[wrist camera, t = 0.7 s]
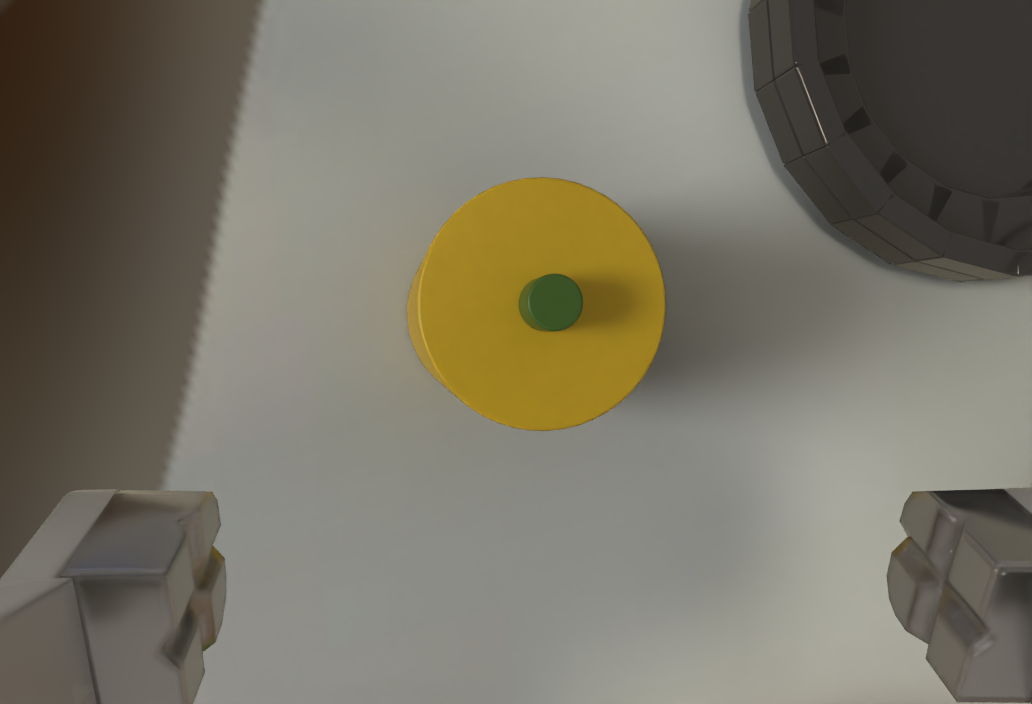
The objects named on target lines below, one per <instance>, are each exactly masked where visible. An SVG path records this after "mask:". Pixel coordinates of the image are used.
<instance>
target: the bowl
mask: <svg viewBox="0 0 1032 704" xmlns="http://www.w3.org/2000/svg"><path fill="white" fill-rule="evenodd" d="M749 12H750V13H749V28H750V40H751V52H752V65H753V77H754V89H755V91H756V95H757V98H758V101H759V103H760V106H761V108H762V111H763V113H764V116H765V118H766V121H767V124H768V126H769V129H770V131H771V134H772V136H773V139H774V141H775V144H776V147H777V149H778V152H779V154H780V157H781V159H782V162H783V163H784V164H785V165H784V166H785V168H786V169H787V170H788V171H789V173H790V174H791V175H792V176H793V178H794V179H795V180H796V181H797V183H798V184H799V185H800V186H801V188H802V189H803V190H804V191H805V193H806V194H807V195H808V196H809V198H810V199H811V200H812V202H813V203H814V204H815V205H816V207H817V208H818V209H819V210H820V212H821V213H822V214H823V215H824V217H825V218H826V219H827V220H828V222H829V223H831V225H832V226H834V227H835V228H837V229H838V230H840V231H841V232H843V233H844V234H846V235H847V236H849V237H850V238H852V239H853V240H855V241H856V242H858V243H859V244H861V245H862V246H864V247H865V248H867V249H868V250H870V251H871V252H873V253H874V254H876V255H877V256H879V257H880V258H882V259H883V260H885V261H886V262H888V263H889V264H893V265H896V266H899V267H903V268H907V269H911V270H915V271H919V272H922V273H926V274H930V275H934V276H938V277H942V278H946V279H949V280H953V281H959V282H965V281H976V280H987V279H998V278H1009V277H1020V276H1031V275H1032V0H751V5H750V9H749Z"/></svg>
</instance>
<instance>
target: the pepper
mask: <svg viewBox="0 0 1032 704" xmlns="http://www.w3.org/2000/svg"><path fill="white" fill-rule="evenodd" d="M665 311H666V298H665V286H664V281H663V276H662V271H661V268H660V265H659V262H658V259H657V256H656V254H655V252H654V250H653V248H652V246H651V244H650V242H649V240H648V239H647V237H646V236H645V234H644V232H643V231H642V229H641V228H640V227H639V226H638V224H637V223H636V222H635V221H634V220H633V218H632V217H631V216H630V215H629V214H628V213H627V212H626V211H625V210H623V209H622V208H621V207H620V206H619V205H618V204H617V203H615V202H614V201H612V200H611V199H609V198H608V197H606V196H605V195H603V194H601V193H599V192H597V191H596V190H594V189H592V188H590V187H587V186H584V185H581V184H579V183H576V182H572V181H567V180H563V179H557V178H545V177H539V178H524V179H519V180H514V181H509V182H506V183H503V184H500V185H497V186H494V187H492V188H490V189H488V190H486V191H484V192H482V193H480V194H478V195H477V196H475V197H474V198H472V199H471V200H469V201H468V202H466V203H465V204H464V205H463V206H462V207H461V208H459V209H458V210H457V211H456V212H455V213H454V214H453V215H452V216H451V217H450V218H449V219H448V221H447V222H446V223H445V224H444V225H443V226H442V228H441V229H440V231H439V232H438V234H437V235H436V237H435V238H434V240H433V242H432V244H431V246H430V248H429V249H428V251H427V253H426V255H425V257H424V259H423V261H422V263H421V265H420V267H419V269H418V271H417V273H416V275H415V277H414V279H413V282H412V285H411V288H410V292H409V298H408V305H407V320H408V328H409V333H410V338H411V340H412V343H413V346H414V349H415V351H416V353H417V355H418V357H419V359H420V360H421V362H422V363H423V365H424V366H425V367H426V369H427V370H428V371H429V372H430V373H431V374H432V376H433V377H434V378H435V379H436V380H438V381H439V382H440V383H441V384H442V385H443V386H445V387H446V388H447V389H448V390H449V391H451V392H452V393H453V394H454V395H455V396H456V397H458V398H459V399H460V400H461V401H462V402H464V403H465V404H466V405H467V406H468V407H470V408H471V409H473V410H474V411H476V412H478V413H479V414H481V415H482V416H484V417H486V418H489V419H491V420H493V421H495V422H497V423H500V424H503V425H507V426H510V427H513V428H519V429H525V430H535V431H550V430H560V429H565V428H570V427H574V426H578V425H581V424H583V423H586V422H588V421H591V420H593V419H595V418H597V417H599V416H601V415H603V414H605V413H606V412H608V411H609V410H611V409H612V408H613V407H615V406H616V405H618V404H619V403H620V402H621V401H622V400H624V399H625V398H626V397H627V396H628V395H629V394H630V393H631V392H632V391H633V390H634V388H635V387H636V386H637V385H638V384H639V382H640V381H641V380H642V378H643V377H644V375H645V374H646V372H647V370H648V369H649V367H650V366H651V364H652V361H653V359H654V357H655V355H656V353H657V350H658V347H659V344H660V341H661V338H662V334H663V328H664V323H665Z"/></svg>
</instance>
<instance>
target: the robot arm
mask: <svg viewBox="0 0 1032 704" xmlns="http://www.w3.org/2000/svg"><path fill="white" fill-rule="evenodd" d="M900 523H901V525H902V527H903V528H904V530H905V532H906V534H907V536H908V537H907V538H906V539H905V540H904V541H903V542H902V543H901V544H900V545H899V546H898V547H897V548H896V549H895V550H894V551H893V552H892V553H891V558H890V563H889V567H888V572H887V584H888V594H889V600H890V603H891V605H892V608H893V610H894V613H895V616H896V617H897V618H898V620H899V621H900V623H901V624H902V626H903V627H904V629H905V630H906V631H907V632H909V633H910V634H912V635H914V636H915V637H917V638H919V639H920V640H922V641H924V642H925V643H927V644H929V645H928V649H927V654H926V660H927V661H928V663H929V664H930V665H931V667H932V668H933V670H934V671H935V672H936V674H937V675H938V677H939V678H940V679H941V681H942V682H943V683H944V685H945V686H946V688H947V689H948V690H949V692H950V693H951V695H952V696H953V697H954V699H955V700H956V702H1026V703H1031V704H1032V487H1031V488H1007V489H987V490H952V491H917V492H912V493H911V495H910V496H909V498H908V499H907V501H906V502H905V504H904V507H903V511H902V515H901V518H900ZM220 526H221V521H220V514H219V507H218V500H217V498H216V497H215V495H214V494H213V492H207V491H149V490H145V491H144V490H143V491H142V490H123V491H119V490H76V491H72V492H69V493H67V494H66V495H65V496H64V497H63V498H62V500H61V501H60V502H59V504H58V505H57V506H56V507H55V509H54V510H53V511H52V513H51V514H50V515H49V516H48V518H47V519H46V521H45V522H44V523H43V524H42V526H41V527H40V528H39V530H38V531H37V532H36V533H35V535H34V536H33V537H32V539H31V540H30V541H29V542H28V544H27V545H26V546H25V548H24V549H23V550H22V551H21V553H20V554H19V555H18V557H17V558H16V559H15V561H14V562H13V563H12V564H11V566H10V567H9V569H8V570H7V571H6V572H5V574H4V575H3V576H2V577H1V578H0V704H193V703H194V700H195V698H196V695H197V692H198V690H199V687H200V684H201V681H202V679H203V676H204V673H205V669H204V660H203V651H205V650H206V649H207V648H208V647H210V646H211V645H212V644H214V643H215V642H216V640H217V637H218V634H219V631H220V628H221V625H222V621H223V614H224V608H225V602H226V567H225V558H224V557H223V556H222V555H221V554H220V553H219V552H218V551H217V550H216V549H215V548H214V546H213V543H214V541H215V538H216V536H217V533H218V531H219V529H220Z"/></svg>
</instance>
